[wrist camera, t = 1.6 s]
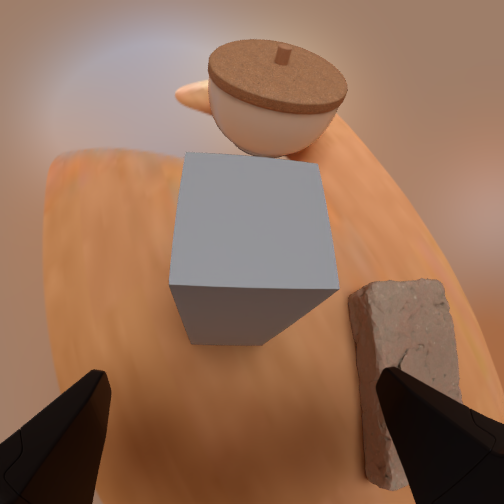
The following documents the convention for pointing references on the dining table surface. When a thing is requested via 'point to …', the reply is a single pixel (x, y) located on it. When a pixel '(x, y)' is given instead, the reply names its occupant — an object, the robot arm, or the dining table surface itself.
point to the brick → (400, 358)
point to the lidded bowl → (272, 95)
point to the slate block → (249, 247)
